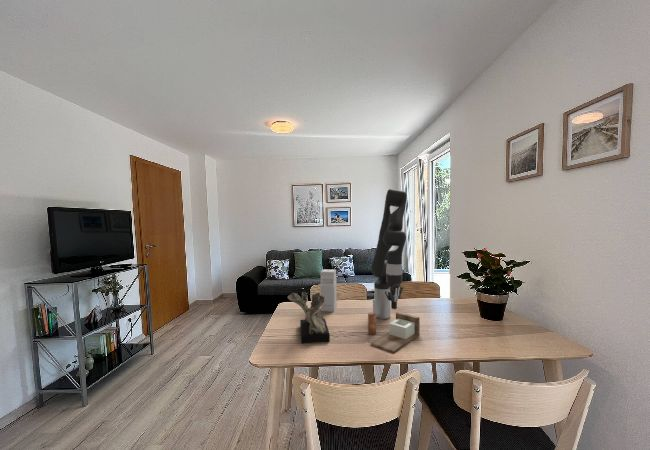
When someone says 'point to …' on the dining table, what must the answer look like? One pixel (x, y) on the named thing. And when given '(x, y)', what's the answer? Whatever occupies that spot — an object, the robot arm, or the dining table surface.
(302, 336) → the coral
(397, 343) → the walnut angle bracket
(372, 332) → the dowel
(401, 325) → the hole block
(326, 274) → the box
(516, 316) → the dining table surface
